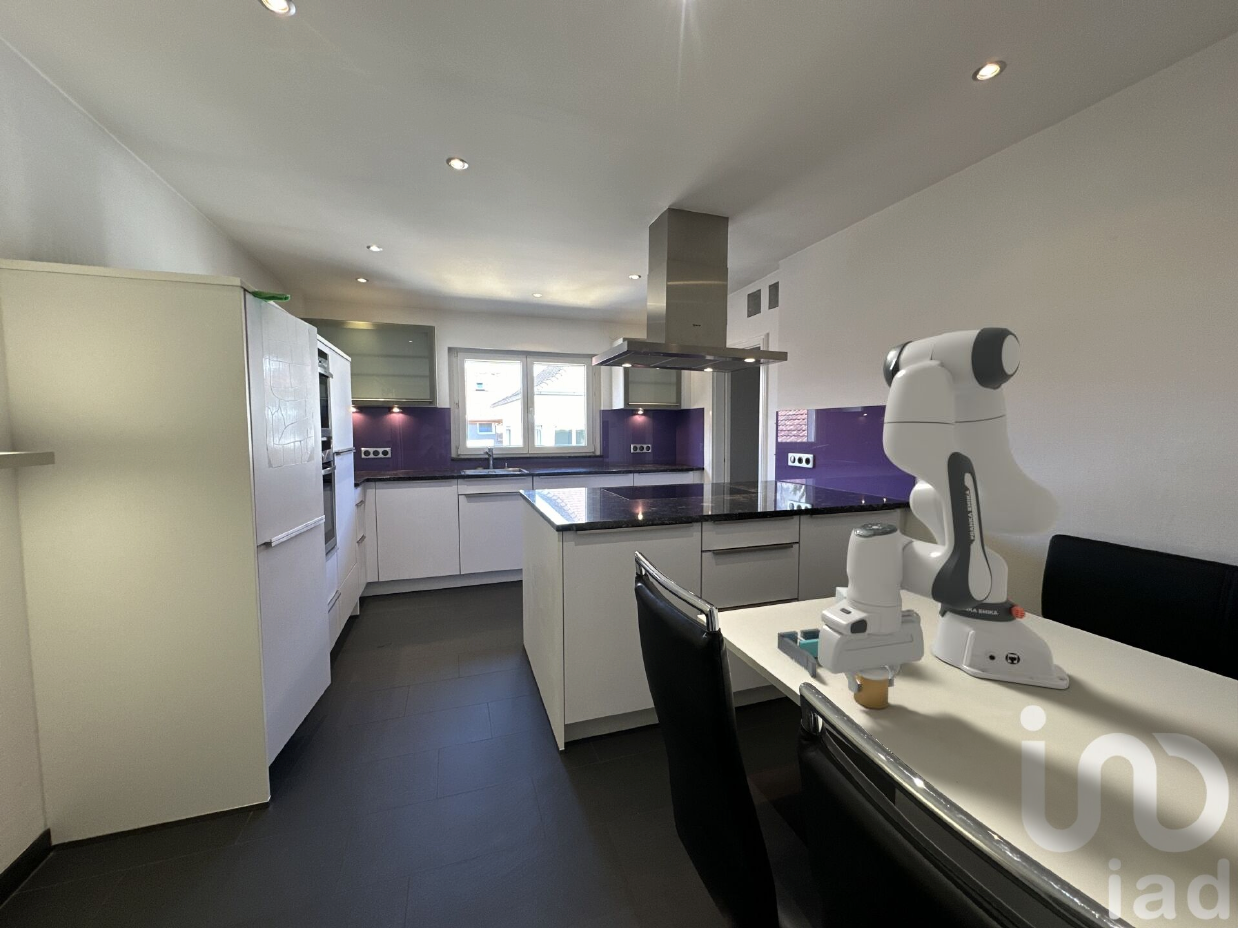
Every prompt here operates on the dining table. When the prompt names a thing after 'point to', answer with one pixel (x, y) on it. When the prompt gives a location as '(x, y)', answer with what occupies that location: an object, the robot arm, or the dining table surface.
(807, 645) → the teal open box
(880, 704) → the amber jar
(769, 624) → the dining table surface
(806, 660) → the lane
